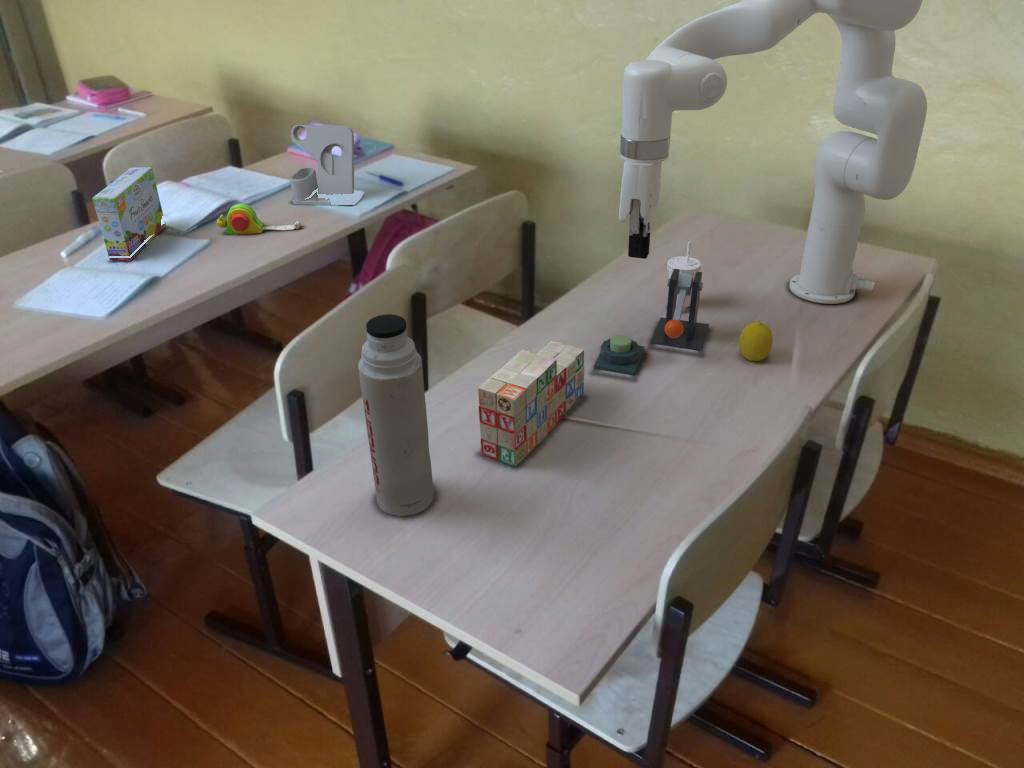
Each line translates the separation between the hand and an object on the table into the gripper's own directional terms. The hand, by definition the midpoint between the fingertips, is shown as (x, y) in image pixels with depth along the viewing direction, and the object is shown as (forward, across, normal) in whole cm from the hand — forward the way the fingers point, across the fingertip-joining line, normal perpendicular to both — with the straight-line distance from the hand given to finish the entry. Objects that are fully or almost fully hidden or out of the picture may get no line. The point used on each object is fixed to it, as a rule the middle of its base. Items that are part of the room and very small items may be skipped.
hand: (638, 255), depth 137 cm
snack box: (+18, -15, -121) cm, 123 cm away
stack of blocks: (+19, +26, -10) cm, 34 cm away
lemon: (+19, -3, +21) cm, 28 cm away
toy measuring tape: (+19, -30, -98) cm, 104 cm away
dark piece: (+19, +4, -2) cm, 20 cm away
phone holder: (+19, -54, -93) cm, 109 cm away
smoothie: (+20, -20, +5) cm, 28 cm away
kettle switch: (+12, -4, +7) cm, 14 cm away
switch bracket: (+19, -8, +7) cm, 22 cm away
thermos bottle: (+18, +48, -22) cm, 56 cm away
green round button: (+16, +4, -1) cm, 17 cm away
